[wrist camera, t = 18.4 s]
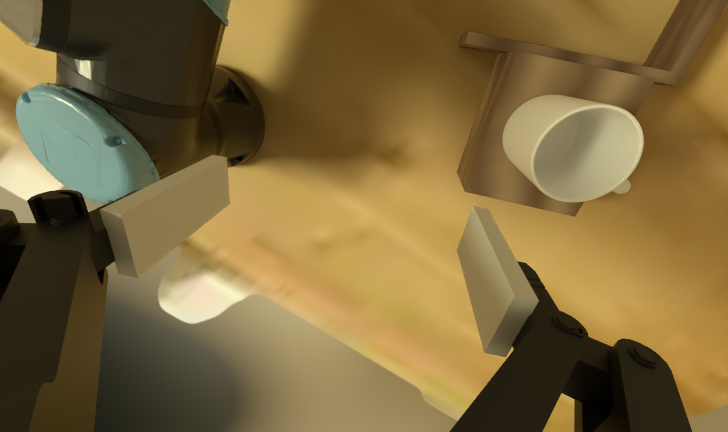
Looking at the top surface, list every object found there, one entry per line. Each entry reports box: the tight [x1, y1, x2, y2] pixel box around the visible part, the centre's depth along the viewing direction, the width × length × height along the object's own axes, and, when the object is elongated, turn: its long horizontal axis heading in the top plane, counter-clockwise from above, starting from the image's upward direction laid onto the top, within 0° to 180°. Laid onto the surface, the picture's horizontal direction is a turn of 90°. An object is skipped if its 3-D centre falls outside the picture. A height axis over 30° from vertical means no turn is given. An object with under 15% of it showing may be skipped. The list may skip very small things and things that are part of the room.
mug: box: [502, 95, 644, 202], centre depth 30 cm, size 12×8×10 cm
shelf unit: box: [457, 0, 728, 216], centre depth 33 cm, size 23×34×8 cm
